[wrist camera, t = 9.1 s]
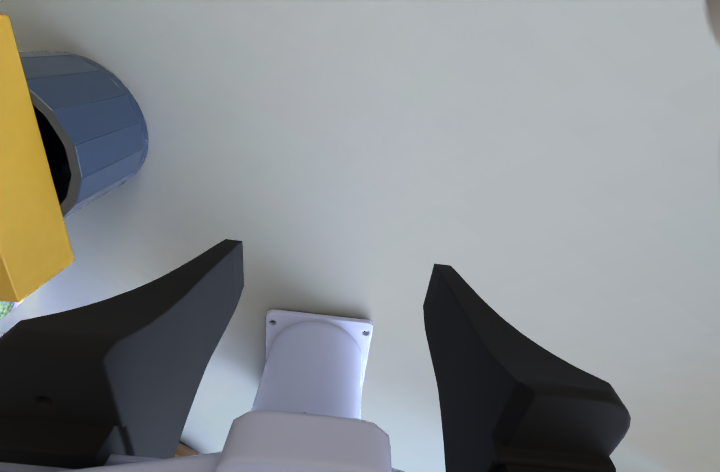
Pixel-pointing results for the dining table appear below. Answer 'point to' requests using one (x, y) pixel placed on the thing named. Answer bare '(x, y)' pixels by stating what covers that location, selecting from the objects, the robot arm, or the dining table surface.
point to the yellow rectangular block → (25, 187)
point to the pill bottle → (7, 307)
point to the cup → (84, 126)
